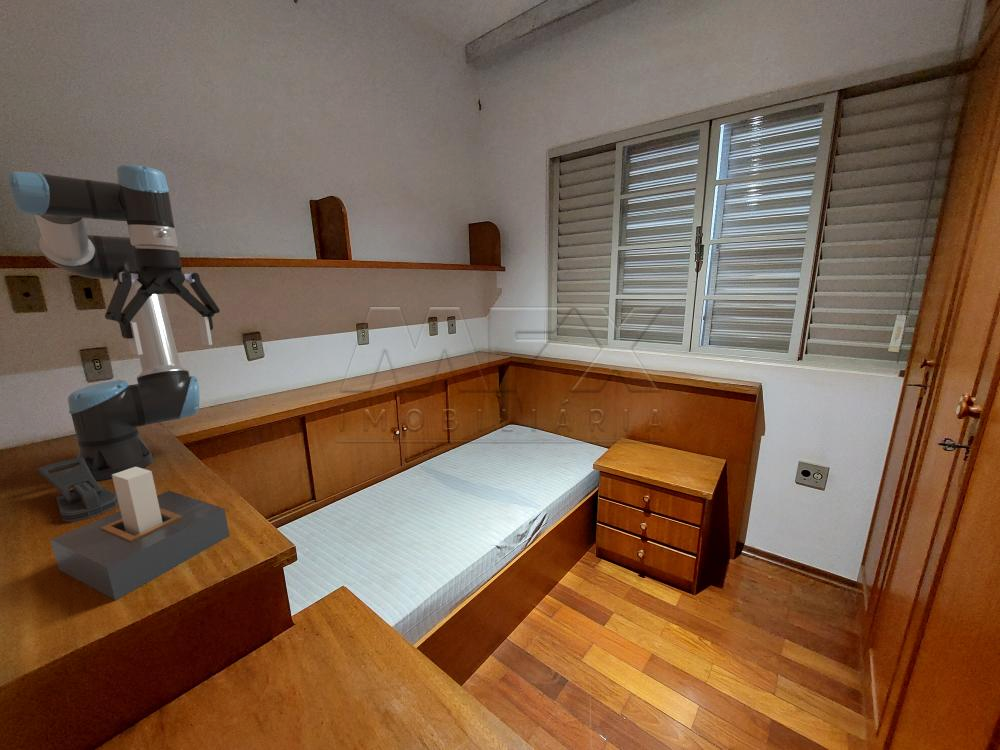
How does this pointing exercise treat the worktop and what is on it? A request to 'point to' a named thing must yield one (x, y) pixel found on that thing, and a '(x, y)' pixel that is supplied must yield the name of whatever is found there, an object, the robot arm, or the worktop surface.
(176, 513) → the block
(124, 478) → the white rectangular bar
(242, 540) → the worktop surface
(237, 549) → the worktop surface
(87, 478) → the zipper slider
